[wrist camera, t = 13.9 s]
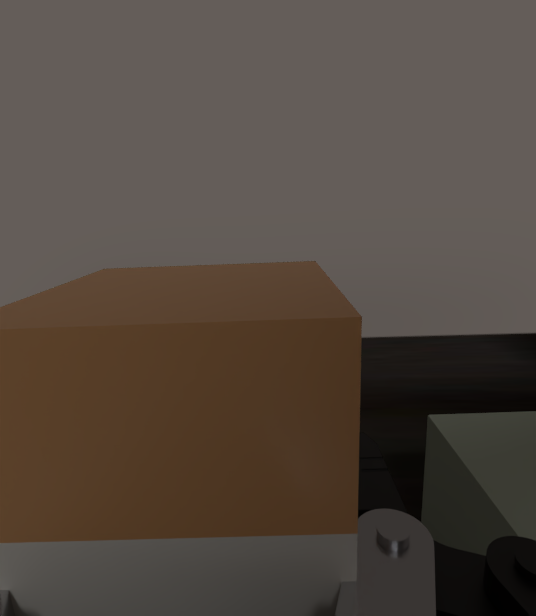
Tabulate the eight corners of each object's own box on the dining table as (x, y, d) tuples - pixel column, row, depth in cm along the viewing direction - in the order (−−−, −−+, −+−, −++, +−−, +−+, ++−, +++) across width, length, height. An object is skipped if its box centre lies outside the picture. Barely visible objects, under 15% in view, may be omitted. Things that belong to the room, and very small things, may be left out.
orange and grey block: (318, 650, 12) (315, 261, 10) (349, 934, 8) (361, 316, 5) (157, 654, 12) (104, 268, 10) (84, 938, 8) (-66, 331, 5)
